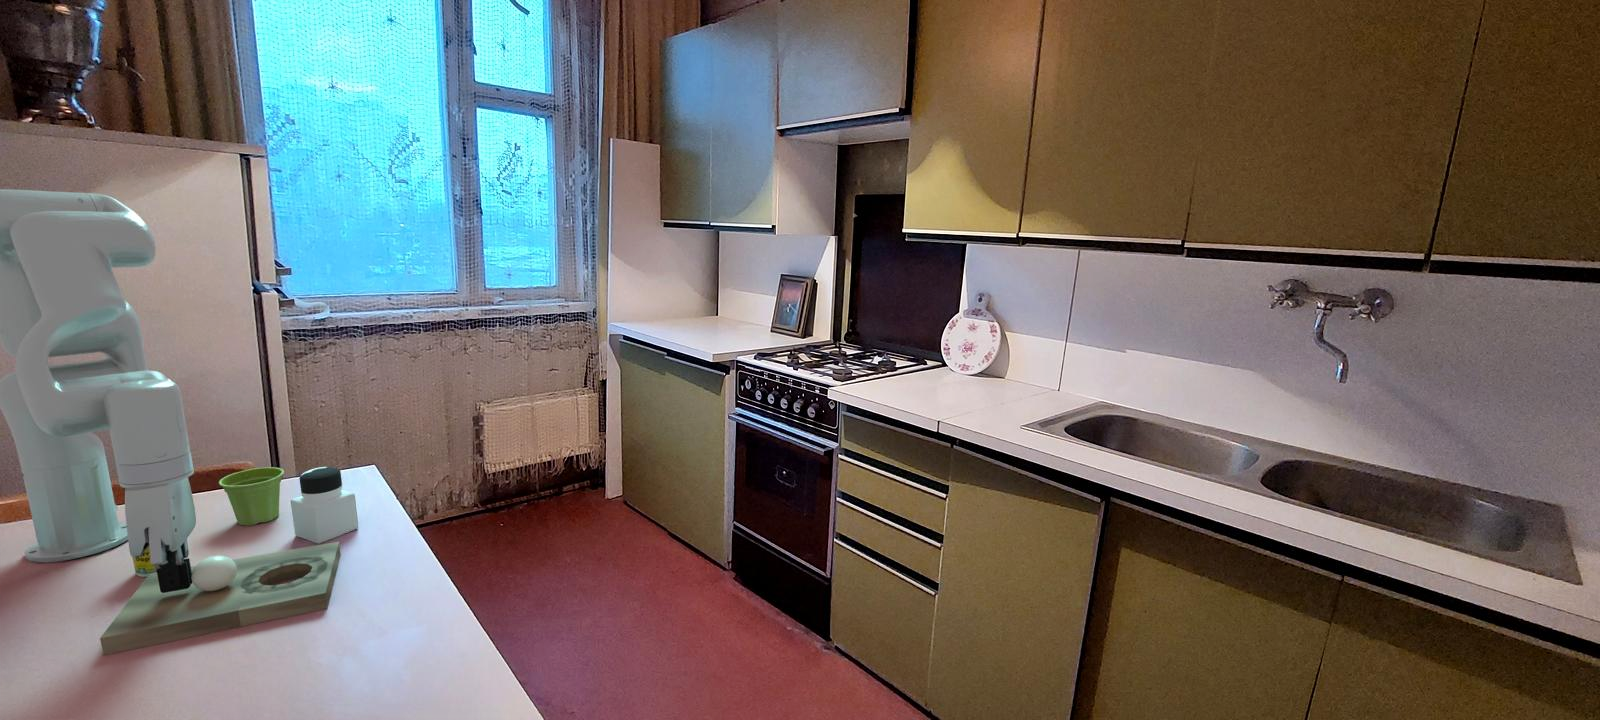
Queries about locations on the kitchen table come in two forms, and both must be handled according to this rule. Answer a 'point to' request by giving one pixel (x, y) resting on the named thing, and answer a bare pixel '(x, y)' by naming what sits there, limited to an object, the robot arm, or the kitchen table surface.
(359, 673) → the kitchen table surface
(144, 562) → the supplement bottle
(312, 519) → the medicine bottle
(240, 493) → the plant pot
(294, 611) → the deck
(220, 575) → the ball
